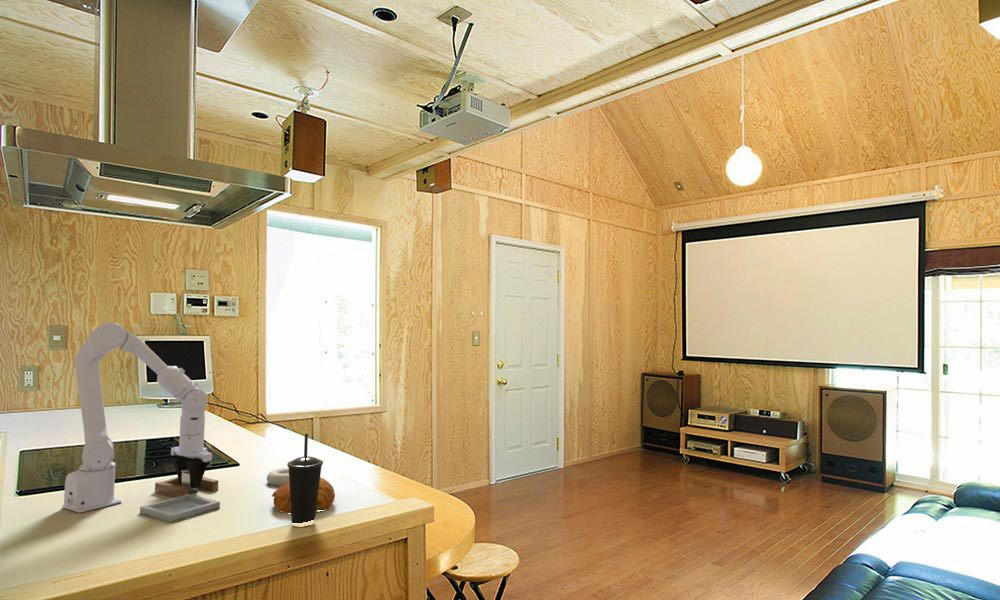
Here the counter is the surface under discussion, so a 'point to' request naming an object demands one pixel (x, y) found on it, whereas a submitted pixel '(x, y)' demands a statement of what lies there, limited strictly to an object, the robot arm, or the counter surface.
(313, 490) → the drinking cup
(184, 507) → the dish
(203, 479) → the notch block
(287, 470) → the donut
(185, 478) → the salt shaker
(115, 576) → the counter surface
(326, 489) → the croissant
